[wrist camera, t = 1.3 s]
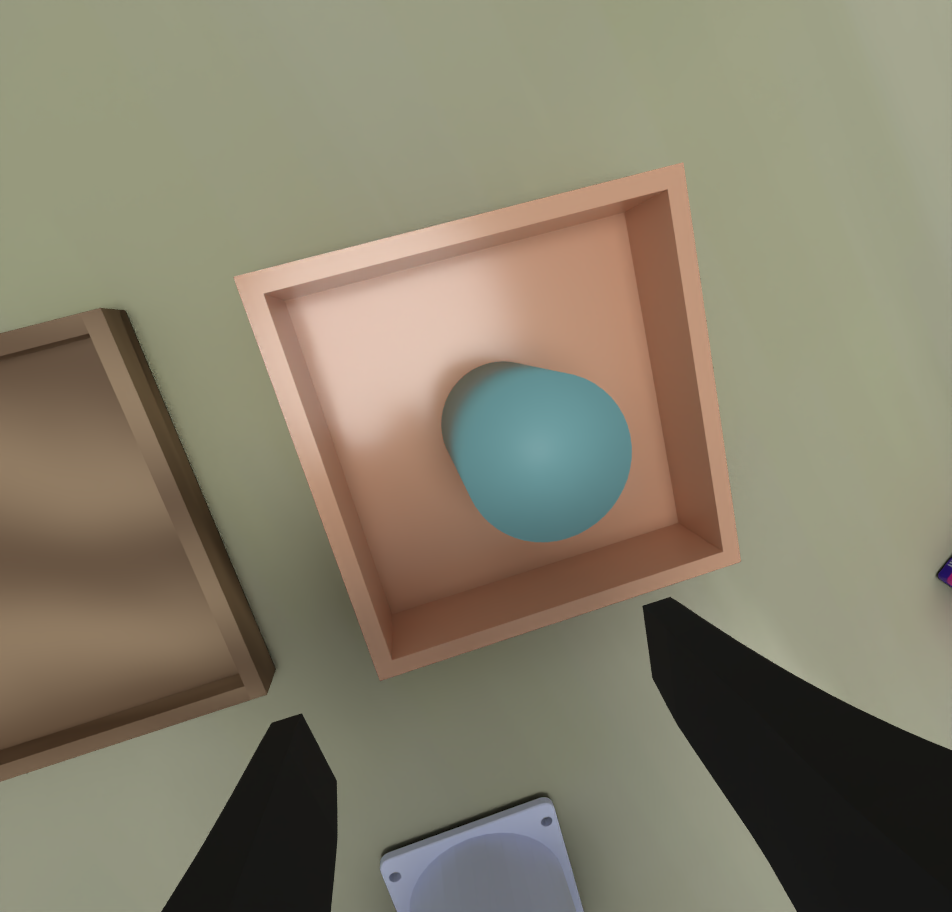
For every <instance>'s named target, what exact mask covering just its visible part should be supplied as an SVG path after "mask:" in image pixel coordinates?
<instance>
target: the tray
mask: <svg viewBox="0 0 952 912" xmlns="http://www.w3.org/2000/svg"><path fill="white" fill-rule="evenodd" d="M275 670H276V669H275V666H274V664H273V662H272V659H271V657H270V655H269V652H268V650H267V647H266V645H265V643H264V640H263V638H262V635H261V633H260V631H259V628H258V626H257V624H256V621H255V619H254V616H253V614H252V612H251V609H250V607H249V604H248V602H247V600H246V597H245V595H244V593H243V590H242V588H241V585H240V583H239V581H238V578H237V576H236V574H235V571H234V569H233V566H232V564H231V562H230V559H229V557H228V554H227V552H226V550H225V547H224V545H223V543H222V540H221V538H220V535H219V533H218V531H217V528H216V526H215V523H214V521H213V519H212V516H211V514H210V512H209V509H208V507H207V504H206V502H205V500H204V497H203V495H202V492H201V490H200V488H199V485H198V483H197V481H196V478H195V476H194V473H193V471H192V469H191V466H190V464H189V461H188V459H187V457H186V454H185V452H184V450H183V447H182V445H181V442H180V440H179V438H178V435H177V433H176V430H175V428H174V426H173V423H172V421H171V419H170V416H169V414H168V411H167V409H166V407H165V404H164V402H163V400H162V397H161V395H160V392H159V390H158V388H157V385H156V383H155V380H154V378H153V376H152V373H151V371H150V369H149V366H148V364H147V361H146V359H145V357H144V354H143V352H142V349H141V347H140V345H139V342H138V340H137V338H136V335H135V333H134V330H133V328H132V326H131V323H130V321H129V318H128V316H127V314H126V311H125V310H115V309H105V308H99V309H95V310H91V311H87V312H83V313H79V314H75V315H71V316H67V317H63V318H59V319H55V320H51V321H47V322H43V323H40V324H36V325H32V326H28V327H24V328H20V329H16V330H12V331H8V332H4V333H0V782H1V781H4V780H7V779H10V778H13V777H16V776H19V775H22V774H25V773H28V772H31V771H34V770H37V769H40V768H43V767H47V766H50V765H53V764H56V763H59V762H62V761H65V760H68V759H71V758H74V757H77V756H80V755H83V754H86V753H89V752H92V751H96V750H99V749H102V748H105V747H108V746H111V745H114V744H117V743H120V742H123V741H126V740H129V739H132V738H135V737H138V736H141V735H145V734H148V733H151V732H154V731H157V730H160V729H163V728H166V727H169V726H172V725H175V724H178V723H181V722H184V721H187V720H190V719H193V718H197V717H200V716H203V715H206V714H209V713H212V712H215V711H218V710H221V709H224V708H227V707H230V706H233V705H236V704H239V703H242V702H246V701H249V700H252V699H255V698H258V697H261V696H264V695H267V693H268V690H269V687H270V684H271V682H272V679H273V676H274V673H275Z"/></svg>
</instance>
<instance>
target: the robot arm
mask: <svg viewBox="0 0 952 912" xmlns="http://www.w3.org/2000/svg"><path fill="white" fill-rule="evenodd" d="M643 612H644V620H645V627H646V634H647V642H648V649H649V656H650V664H651V671H652V678H653V680H654V682H655V684H656V686H657V688H658V689H659V691H660V693H661V695H662V697H663V699H664V701H665V703H666V705H667V707H668V708H669V710H670V712H671V714H672V716H673V718H674V719H675V721H676V723H677V725H678V727H679V728H680V730H681V731H682V733H683V734H684V736H685V737H686V739H687V740H688V742H689V743H690V745H691V746H692V748H693V749H694V751H695V752H696V753H697V755H698V756H699V758H700V759H701V761H702V762H703V764H704V765H705V767H706V768H707V770H708V771H709V773H710V774H711V776H712V777H713V779H714V780H715V782H716V783H717V785H718V786H719V787H720V789H721V790H722V792H723V793H724V795H725V796H726V798H727V799H728V801H729V802H730V804H731V805H732V807H733V808H734V810H735V811H736V813H737V814H738V815H739V817H740V818H741V820H742V821H743V823H744V824H745V826H746V827H747V829H748V830H749V832H750V833H751V835H752V836H753V838H754V839H755V841H756V843H757V844H758V846H759V847H760V849H761V850H762V852H763V854H764V855H765V857H766V858H767V860H768V862H769V863H770V865H771V867H772V869H773V870H774V872H775V874H776V876H777V877H778V879H779V881H780V883H781V884H782V886H783V888H784V890H785V891H786V893H787V895H788V897H789V898H790V900H791V902H792V904H793V905H794V907H795V909H796V911H797V912H952V750H950V749H947V748H945V747H942V746H940V745H937V744H935V743H933V742H930V741H928V740H925V739H923V738H921V737H918V736H916V735H914V734H911V733H909V732H907V731H905V730H902V729H900V728H898V727H896V726H893V725H891V724H889V723H887V722H885V721H883V720H881V719H879V718H877V717H874V716H872V715H870V714H868V713H866V712H864V711H862V710H860V709H858V708H855V707H853V706H851V705H849V704H847V703H846V702H844V701H842V700H840V699H838V698H836V697H834V696H832V695H830V694H828V693H826V692H824V691H823V690H821V689H819V688H817V687H815V686H813V685H812V684H810V683H808V682H806V681H804V680H802V679H801V678H799V677H797V676H795V675H794V674H792V673H790V672H788V671H787V670H785V669H783V668H781V667H780V666H778V665H776V664H775V663H773V662H771V661H770V660H768V659H766V658H765V657H763V656H761V655H760V654H758V653H756V652H755V651H753V650H751V649H750V648H748V647H746V646H745V645H743V644H742V643H740V642H738V641H737V640H735V639H734V638H732V637H731V636H729V635H727V634H726V633H724V632H723V631H721V630H720V629H718V628H717V627H715V626H714V625H712V624H711V623H709V622H708V621H706V620H705V619H703V618H701V617H700V616H699V615H697V614H696V613H694V612H693V611H691V610H690V609H688V608H687V607H685V606H684V605H682V604H681V603H679V602H678V601H676V600H674V599H673V598H671V597H669V598H666V599H663V600H660V601H656V602H653V603H650V604H647V605H644V606H643ZM545 817H547V818H545ZM543 818H545V819H543ZM336 849H337V780H336V778H335V777H334V775H333V773H332V771H331V769H330V767H329V765H328V763H327V761H326V759H325V757H324V755H323V753H322V751H321V750H320V748H319V746H318V744H317V742H316V740H315V738H314V736H313V734H312V732H311V730H310V728H309V726H308V724H307V722H306V721H305V719H304V717H303V715H302V714H298V715H295V716H292V717H289V718H286V719H283V720H279V721H276V722H273V723H271V725H270V727H269V728H268V730H267V732H266V734H265V735H264V737H263V739H262V741H261V742H260V744H259V746H258V748H257V750H256V751H255V753H254V755H253V757H252V759H251V761H250V762H249V764H248V766H247V768H246V770H245V771H244V773H243V775H242V777H241V779H240V780H239V782H238V784H237V786H236V788H235V789H234V791H233V793H232V795H231V797H230V798H229V800H228V802H227V804H226V805H225V807H224V809H223V811H222V812H221V814H220V816H219V818H218V819H217V821H216V823H215V825H214V826H213V828H212V830H211V831H210V833H209V835H208V837H207V838H206V840H205V842H204V844H203V845H202V847H201V849H200V850H199V852H198V854H197V855H196V857H195V859H194V860H193V862H192V863H191V865H190V867H189V868H188V870H187V871H186V873H185V875H184V876H183V878H182V879H181V881H180V883H179V884H178V886H177V887H176V889H175V891H174V892H173V894H172V895H171V897H170V899H169V900H168V902H167V904H166V905H165V907H164V908H163V910H162V911H161V912H331V903H332V893H333V882H334V871H335V860H336ZM380 871H381V874H382V876H383V879H384V881H385V884H386V886H387V889H388V891H389V894H390V896H391V899H392V901H393V903H394V906H395V908H396V911H397V912H584V911H583V907H582V904H581V900H580V897H579V893H578V890H577V886H576V882H575V879H574V875H573V872H572V868H571V865H570V861H569V858H568V854H567V851H566V847H565V843H564V840H563V836H562V833H561V829H560V826H559V822H558V819H557V815H556V812H555V808H554V805H553V802H552V801H551V799H549V798H547V797H541V798H538V799H535V800H532V801H529V802H527V803H524V804H521V805H518V806H516V807H513V808H510V809H507V810H504V811H502V812H499V813H496V814H493V815H491V816H488V817H485V818H482V819H480V820H477V821H474V822H471V823H468V824H466V825H463V826H460V827H457V828H455V829H452V830H449V831H446V832H443V833H441V834H438V835H435V836H432V837H430V838H427V839H424V840H421V841H419V842H416V843H413V844H410V845H407V846H405V847H402V848H399V849H396V850H394V851H391V852H388V853H386V854H385V855H384V856H383V857H382V858H381V861H380ZM394 872H397V873H394Z"/></svg>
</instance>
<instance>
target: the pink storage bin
mask: <svg viewBox="0 0 952 912" xmlns="http://www.w3.org/2000/svg"><path fill="white" fill-rule="evenodd" d="M234 280H235V283H236V285H237V288H238V291H239V294H240V296H241V299H242V302H243V305H244V307H245V310H246V313H247V316H248V318H249V321H250V324H251V327H252V329H253V332H254V335H255V338H256V341H257V343H258V346H259V349H260V352H261V354H262V357H263V360H264V363H265V365H266V368H267V371H268V374H269V376H270V379H271V382H272V385H273V387H274V390H275V393H276V396H277V398H278V401H279V404H280V407H281V410H282V412H283V415H284V418H285V421H286V423H287V426H288V429H289V432H290V434H291V437H292V440H293V443H294V445H295V448H296V451H297V454H298V456H299V459H300V462H301V465H302V467H303V470H304V473H305V476H306V479H307V481H308V484H309V487H310V490H311V492H312V495H313V498H314V501H315V503H316V506H317V509H318V512H319V514H320V517H321V520H322V523H323V525H324V528H325V531H326V534H327V536H328V539H329V542H330V545H331V548H332V550H333V553H334V556H335V559H336V561H337V564H338V567H339V570H340V572H341V575H342V578H343V581H344V583H345V586H346V589H347V592H348V594H349V597H350V600H351V603H352V605H353V608H354V611H355V614H356V617H357V619H358V622H359V625H360V628H361V630H362V633H363V636H364V639H365V641H366V644H367V647H368V650H369V652H370V655H371V658H372V661H373V663H374V666H375V669H376V672H377V674H378V677H379V680H380V681H382V680H385V679H388V678H391V677H394V676H397V675H400V674H403V673H406V672H409V671H412V670H415V669H418V668H421V667H424V666H427V665H430V664H433V663H436V662H439V661H442V660H445V659H448V658H451V657H454V656H457V655H460V654H463V653H466V652H470V651H473V650H476V649H479V648H482V647H485V646H488V645H491V644H494V643H497V642H500V641H503V640H506V639H509V638H512V637H515V636H518V635H521V634H524V633H527V632H530V631H533V630H536V629H539V628H542V627H545V626H548V625H551V624H554V623H557V622H560V621H563V620H566V619H569V618H572V617H575V616H578V615H581V614H584V613H587V612H590V611H593V610H597V609H600V608H603V607H606V606H609V605H612V604H615V603H618V602H621V601H624V600H627V599H630V598H633V597H636V596H639V595H642V594H645V593H648V592H651V591H654V590H657V589H660V588H663V587H666V586H669V585H672V584H675V583H678V582H681V581H684V580H687V579H690V578H693V577H696V576H699V575H702V574H705V573H708V572H711V571H714V570H717V569H720V568H723V567H727V566H730V565H733V564H736V563H739V562H741V558H740V551H739V545H738V538H737V531H736V524H735V517H734V510H733V503H732V496H731V489H730V482H729V475H728V468H727V461H726V454H725V448H724V441H723V434H722V427H721V420H720V413H719V406H718V399H717V392H716V385H715V378H714V371H713V364H712V358H711V351H710V344H709V337H708V330H707V323H706V316H705V309H704V302H703V295H702V288H701V281H700V274H699V268H698V261H697V254H696V247H695V240H694V233H693V226H692V219H691V212H690V205H689V198H688V191H687V184H686V178H685V171H684V164H683V163H679V164H675V165H671V166H667V167H663V168H659V169H655V170H651V171H648V172H644V173H640V174H636V175H632V176H628V177H624V178H620V179H616V180H612V181H608V182H604V183H600V184H596V185H592V186H589V187H585V188H581V189H577V190H573V191H569V192H565V193H561V194H557V195H553V196H549V197H545V198H541V199H537V200H533V201H530V202H526V203H522V204H518V205H514V206H510V207H506V208H502V209H498V210H494V211H490V212H486V213H482V214H478V215H475V216H471V217H467V218H463V219H459V220H455V221H451V222H447V223H443V224H439V225H435V226H431V227H427V228H423V229H419V230H416V231H412V232H408V233H404V234H400V235H396V236H392V237H388V238H384V239H380V240H376V241H372V242H368V243H364V244H360V245H357V246H353V247H349V248H345V249H341V250H337V251H333V252H329V253H325V254H321V255H317V256H313V257H309V258H305V259H301V260H298V261H294V262H290V263H286V264H282V265H278V266H274V267H270V268H266V269H262V270H258V271H254V272H250V273H246V274H242V275H239V276H235V277H234ZM501 361H506V362H514V363H519V364H524V365H529V366H534V367H539V368H544V369H548V370H553V371H558V372H563V373H568V374H573V375H576V376H579V377H582V378H585V379H587V380H589V381H591V382H593V383H595V384H596V385H597V386H599V387H600V388H602V389H603V390H604V391H605V392H606V393H607V394H608V395H609V396H611V397H612V399H613V400H614V401H615V403H616V404H617V405H618V406H619V408H620V410H621V412H622V413H623V415H624V417H625V420H626V422H627V425H628V428H629V432H630V436H631V444H632V460H631V467H630V472H629V475H628V479H627V482H626V484H625V487H624V489H623V491H622V493H621V495H620V497H619V498H618V500H617V501H616V503H615V504H614V506H613V507H612V508H611V509H610V511H609V512H608V513H607V514H606V515H605V516H604V517H603V518H602V519H601V520H600V521H598V522H597V523H596V524H595V525H593V526H592V527H590V528H589V529H587V530H585V531H584V532H582V533H580V534H578V535H575V536H573V537H570V538H567V539H563V540H559V541H553V542H531V541H524V540H521V539H517V538H514V537H512V536H509V535H507V534H505V533H503V532H501V531H500V530H498V529H496V528H495V527H494V526H493V525H491V524H490V523H489V522H488V521H487V520H486V519H485V518H484V517H483V516H482V515H481V514H480V512H479V511H478V509H477V508H476V507H475V505H474V503H473V501H472V499H471V498H470V496H469V494H468V492H467V490H466V487H465V485H464V483H463V481H462V479H461V477H460V475H459V473H458V471H457V469H456V467H455V465H454V463H453V461H452V459H451V457H450V455H449V453H448V451H447V449H446V446H445V443H444V441H443V436H442V429H441V420H442V412H443V408H444V405H445V402H446V399H447V397H448V395H449V393H450V392H451V390H452V389H453V387H454V386H455V385H456V383H457V382H458V381H459V380H460V379H461V378H462V377H463V376H464V375H466V374H467V373H469V372H470V371H471V370H473V369H475V368H477V367H479V366H482V365H485V364H488V363H492V362H501Z"/></svg>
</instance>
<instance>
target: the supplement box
mask: <svg viewBox="0 0 952 912" xmlns="http://www.w3.org/2000/svg"><path fill="white" fill-rule="evenodd" d="M938 578H939V579H941V580H942V581H943V582H945V583H946V584H948V585H949V586H951V587H952V558H951V559H949V561H948V562H947V563H946V564H945V566H944V567H943V568H942V570H941V571H940V572H939V574H938Z"/></svg>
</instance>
